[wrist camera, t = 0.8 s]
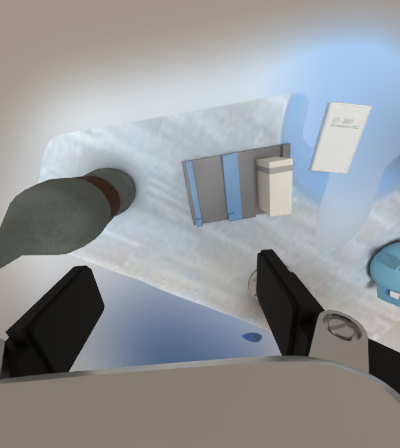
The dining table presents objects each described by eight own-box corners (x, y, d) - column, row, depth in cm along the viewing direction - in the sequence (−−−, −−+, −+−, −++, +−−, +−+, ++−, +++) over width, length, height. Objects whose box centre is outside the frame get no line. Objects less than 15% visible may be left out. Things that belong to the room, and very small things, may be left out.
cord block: (275, 203, 41) (291, 213, 35) (257, 206, 41) (270, 217, 35) (275, 156, 37) (293, 158, 31) (255, 159, 38) (269, 162, 31)
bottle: (97, 207, 41) (-102, 333, 13) (90, 165, 37) (-201, 212, 10) (140, 209, 41) (34, 333, 14) (136, 167, 38) (-13, 219, 10)
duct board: (287, 208, 43) (292, 211, 40) (193, 223, 43) (194, 228, 41) (288, 143, 37) (295, 143, 35) (182, 161, 38) (181, 162, 35)
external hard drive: (306, 169, 40) (326, 103, 35) (342, 172, 41) (366, 107, 36) (311, 170, 39) (332, 101, 34) (348, 173, 39) (373, 105, 34)
